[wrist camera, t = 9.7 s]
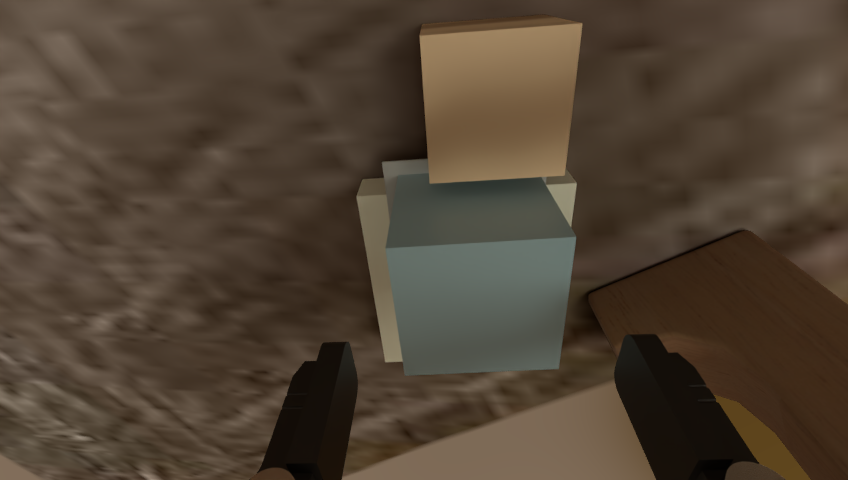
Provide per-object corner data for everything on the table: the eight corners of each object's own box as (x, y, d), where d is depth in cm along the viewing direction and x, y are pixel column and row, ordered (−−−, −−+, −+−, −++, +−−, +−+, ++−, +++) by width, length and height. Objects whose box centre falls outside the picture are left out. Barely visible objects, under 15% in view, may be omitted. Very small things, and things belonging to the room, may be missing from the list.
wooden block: (607, 340, 26) (857, 837, 11) (583, 292, 24) (848, 819, 9) (760, 283, 24) (1367, 826, 8) (748, 224, 22) (1515, 798, 6)
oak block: (422, 24, 17) (419, 36, 13) (543, 14, 17) (582, 23, 13) (429, 141, 20) (429, 183, 15) (535, 134, 19) (564, 175, 15)
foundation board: (357, 148, 20) (350, 164, 18) (568, 134, 19) (582, 149, 17) (388, 337, 26) (385, 363, 25) (545, 331, 26) (554, 356, 24)
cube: (398, 175, 18) (385, 248, 13) (534, 165, 18) (576, 236, 13) (410, 282, 21) (404, 375, 16) (527, 276, 21) (558, 368, 16)
